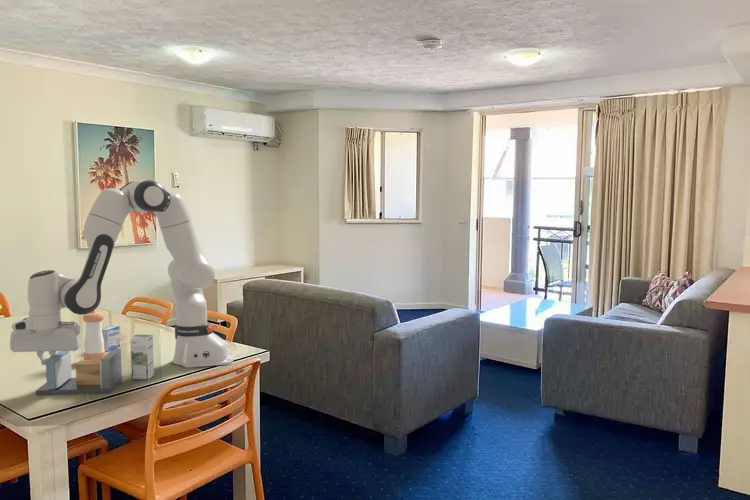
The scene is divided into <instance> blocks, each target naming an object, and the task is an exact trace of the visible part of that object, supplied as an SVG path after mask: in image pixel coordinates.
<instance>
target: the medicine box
mask: <svg viewBox="0 0 750 500" xmlns="http://www.w3.org/2000/svg"><path fill="white" fill-rule="evenodd" d="M120 329H121V328H120V325H109V326H106V327H103V328H102V335H103V339H104V350H105V352H110V351H111V350H113V349H118V348H119V347H121V330H120Z"/></svg>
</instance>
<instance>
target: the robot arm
mask: <svg viewBox="0 0 750 500" xmlns="http://www.w3.org/2000/svg"><path fill="white" fill-rule="evenodd" d="M131 212H138V213H147V212H149V213H152V214H154V215H155V217H156V219H157V222H158V226H159V229H160V232H161V236H162V238H163V241H164V244H165V247H166V249H167V250H168V252H169V253H170V255H171V257H172V258H173V259H172V260H171V261H170V262H169V264H168V267H167V274H168V276H169V279H170V282H171V283H170V284H171V286H172V287H171V289H172V292H173V296H174V303H175V322H176V323H175V324H174V338H175V346H174V347H175V349H174V354H173V358H172V363H173V364H174V365H176V366H177V365H178V366H182V367H183V368H199V367H210V366H211V367H212V366H224V365H225V366H226V365H229V364H231V363H233V361H235V354H234V353H233V352H230V351H229V346H228V343H227V341H226V340H225V339H223V338H222V337H220V336H219V335H218V334H216V333H214V332H213V330H214V329H213V328H214V326H213V323H210V322H208V306H207V305H208V304H207V300H206V298H205V295H204V292H203V289H207V288H209V287H210V286H211V285H212V284H213V283H214V281H215V277H216V272H215V269H214V268H213V266H212V265H211V264H210V261H208V259H207V256H206V254H205V253H204V251H203V248H202V247H201V244H200V243H199V240H198V238H197V236H196V235H197V234H196V232H195V228H194V226H193V225H194V224H193V222H192V219H191V216H190V213H189V210H188V208H187V205H186V203H185V201H184V199H183V198H182V196H181V195H180V194H179V193H176V192H169V191H168V190H166V189H165V187H164V186H162V184H160V183H159V182H158V181H155V180H152V179H151V180H149V179H148V180H146V179H140V180H139V179H138V180H135V181H130V182H128V183H126V184H125V185H123V186H122V187H121V188H119V189H117V188H109V187H108V188H105V189H103V190H102V191H101V192H100V193H99V195H98V196H97V197H96V199H95V200H94V203H93V204H92V206H91V208H90V210H89V213H88V215H87V216H86V219H85V222H84V225H83V230H82V233H83V234H82V235H83V237H84V239H85V241H86V243H87V244H86V245H87V248H88V253H87V258H86V260H85V263H84V265H83V269H82V271H81V275H80V276H79V279H78V278H75V277H70V276H67V275H64V274H61V273H59V272H58V271H56V270H54V269H53V270H51V269H49V270H43V271H38V272H35V273H33V274H32V275H31V276H30V277H29V278H28V281H27V302H28V305H29V310H28V317H25V318H23V319H19V320H17V321H15V322H14V323H12V324H11V329H12V332H11V333H10V338H9V339H10V340H9V347H10V350H11V351H12V352H13V353H33V352H35V353H36V356H37V358H39V359H40V364H41V366H46V360H47V359H49V358H50V357H52V356H53V355H55V354H56V353H57V352H59V351H69V352H72V351H73V352H75V351H78V350H79V349H80V348H81V346H82V340H81V335H80V333H81V326H80V324H78V323H77V322H76V321H62V314H61V310H62V309H63V308H65V309H68V310H69V311H70V312H71V313H73V314H76V315H79V316H81V315H83V316H84V314H88V313H91V312H92V311H94V310H95V311H96V309H98V307H99V305H100V303H101V300H102V283H103V280H104V277H105V274H106V270H107V268H108V265H109V263H110V259H111V257H112V252H113V250H114V247H115V244H116V242H117V240H118V237H119V235H120V233H121V231H122V228H123V226H124V223H125V220H126V218H127V217H128V215H129V214H130V213H131ZM45 352H48V355H49V357H46V356H45V355H44V354H45Z"/></svg>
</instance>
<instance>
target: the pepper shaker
mask: <svg viewBox="0 0 750 500" xmlns="http://www.w3.org/2000/svg"><path fill="white" fill-rule="evenodd" d="M104 318H105V316H104V314H103V313H102V312H99V311H96V309H95V310H94V311H92V312H91V313H88V314H84V315H83V316H82V321H83V322H84V323H85V325H84V326H85V333H84V334H85V336H84V352H83V360H101V359H102V358H103V357H104V356H105V355H106V351H105V350H104V339H103V335H102V327H103V325H102V321H103V320H104Z"/></svg>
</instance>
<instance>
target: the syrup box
mask: <svg viewBox="0 0 750 500" xmlns="http://www.w3.org/2000/svg"><path fill="white" fill-rule="evenodd" d="M153 336H154V335H153V334H135V335H133V336H132V337H130V357H131V358H130V359H131V361H130V362H131V365H130V366H131V380H133V381H134V380H137V381H139V380H140V381H141V380H143V381H147V380H150V379H151V378H153V376H154V375H155V371H154V337H153Z"/></svg>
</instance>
